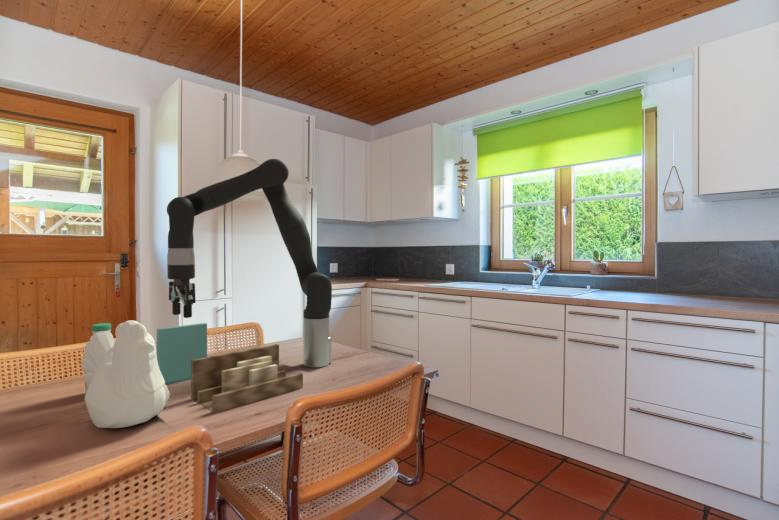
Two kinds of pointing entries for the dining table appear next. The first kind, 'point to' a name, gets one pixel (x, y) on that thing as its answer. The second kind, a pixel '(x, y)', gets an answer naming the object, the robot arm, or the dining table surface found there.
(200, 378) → the walnut rack
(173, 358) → the teal panel
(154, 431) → the dining table surface
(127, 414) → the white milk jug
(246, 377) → the offcut stack
